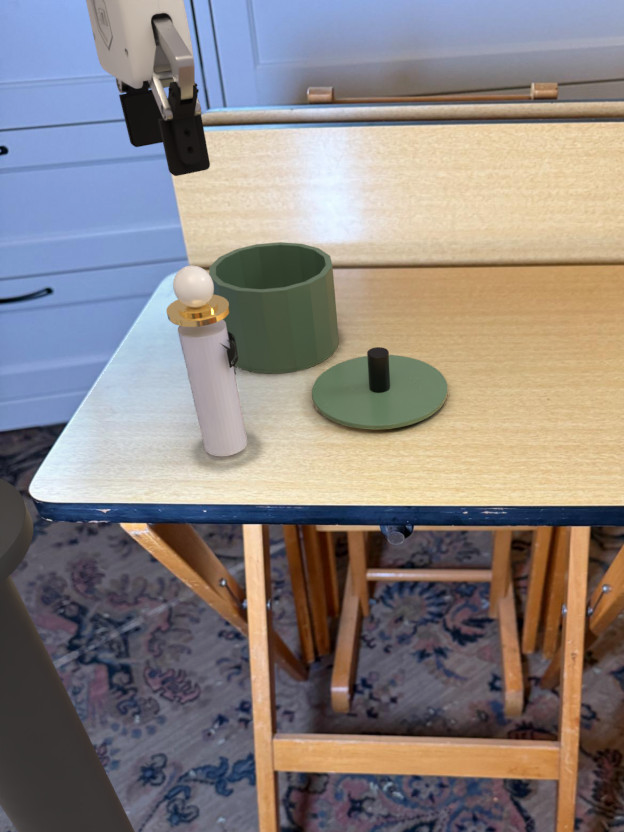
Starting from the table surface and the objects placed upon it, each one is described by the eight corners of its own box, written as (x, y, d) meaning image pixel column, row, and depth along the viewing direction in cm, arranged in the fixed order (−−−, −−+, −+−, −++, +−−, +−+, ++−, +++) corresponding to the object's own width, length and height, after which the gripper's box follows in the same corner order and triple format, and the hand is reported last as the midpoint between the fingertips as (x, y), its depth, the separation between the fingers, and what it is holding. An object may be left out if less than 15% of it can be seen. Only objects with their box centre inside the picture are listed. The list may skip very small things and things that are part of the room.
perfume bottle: (200, 469, 82) (156, 283, 69) (198, 438, 86) (157, 258, 73) (256, 461, 83) (223, 276, 70) (252, 431, 87) (220, 251, 74)
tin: (252, 385, 95) (238, 302, 88) (207, 338, 104) (191, 260, 97) (358, 352, 100) (353, 271, 93) (306, 309, 110) (298, 233, 103)
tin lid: (354, 450, 84) (351, 404, 80) (289, 387, 94) (284, 343, 90) (474, 406, 90) (476, 360, 86) (401, 351, 100) (400, 308, 96)
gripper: (28, -109, 59) (95, 142, 70) (93, -103, 47) (160, 194, 59) (128, -115, 61) (176, 127, 73) (212, -110, 50) (253, 174, 61)
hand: (169, 157), depth 66 cm, fingers open, 9 cm apart
